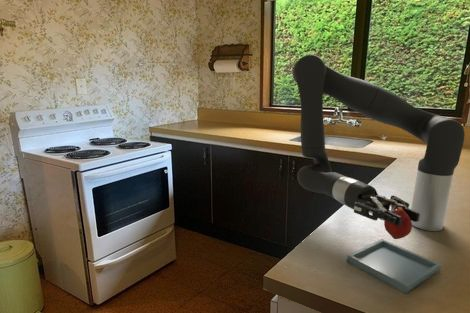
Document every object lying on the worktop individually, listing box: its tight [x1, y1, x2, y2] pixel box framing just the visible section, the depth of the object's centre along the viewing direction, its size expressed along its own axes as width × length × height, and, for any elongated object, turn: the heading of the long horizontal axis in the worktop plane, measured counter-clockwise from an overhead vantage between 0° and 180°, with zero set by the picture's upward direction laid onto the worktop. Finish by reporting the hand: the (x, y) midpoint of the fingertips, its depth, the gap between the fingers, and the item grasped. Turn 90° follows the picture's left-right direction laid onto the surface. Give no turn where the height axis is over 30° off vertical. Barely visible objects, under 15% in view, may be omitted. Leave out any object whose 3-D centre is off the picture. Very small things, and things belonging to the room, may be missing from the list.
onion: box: [383, 207, 413, 240], centre depth 79 cm, size 6×6×8 cm
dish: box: [346, 239, 442, 295], centre depth 82 cm, size 15×15×2 cm
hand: (409, 219), depth 77 cm, fingers closed on onion, 5 cm apart
